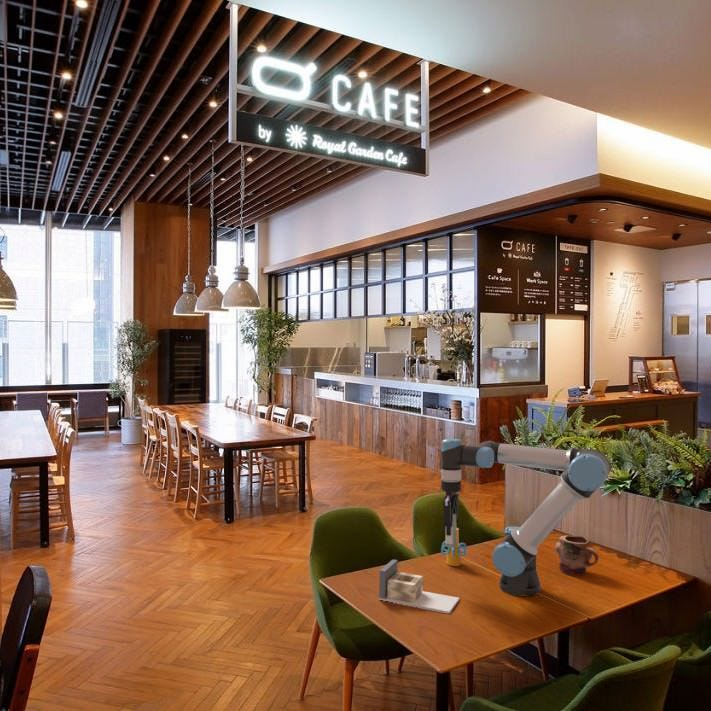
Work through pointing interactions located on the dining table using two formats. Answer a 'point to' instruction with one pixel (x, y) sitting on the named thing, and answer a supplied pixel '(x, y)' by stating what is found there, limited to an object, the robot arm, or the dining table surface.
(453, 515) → the dowel
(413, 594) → the block
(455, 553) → the orange ringed tube
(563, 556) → the brown ceramic mug
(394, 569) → the backstop
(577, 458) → the robot arm
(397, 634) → the dining table surface
